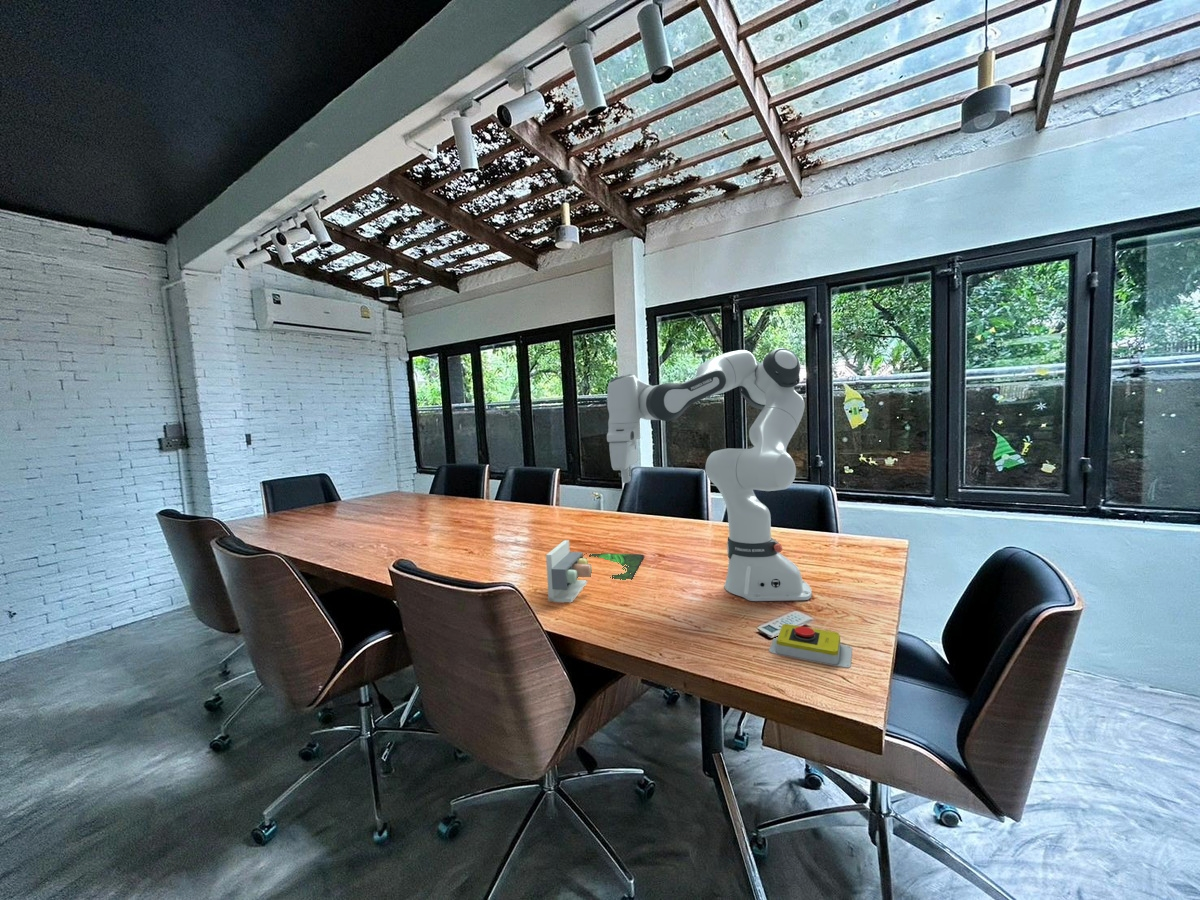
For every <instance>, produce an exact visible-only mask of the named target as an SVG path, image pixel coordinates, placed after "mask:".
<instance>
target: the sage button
mask: <svg viewBox="0 0 1200 900" xmlns="http://www.w3.org/2000/svg"><path fill="white" fill-rule="evenodd" d="M566 575H567V583H576V581H577V570H569V569H568V570H567V571H566Z"/></svg>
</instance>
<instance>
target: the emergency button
mask: <svg viewBox="0 0 1200 900" xmlns="http://www.w3.org/2000/svg"><path fill="white" fill-rule="evenodd" d="M768 652H769V653H771V654H773V655H777V656H778V655H779V656H783V657H790V658H794V659H797V660H798V659H800V660H804V661H808V662H813V663H820V664H824V665H828V666H829V665H831V666H834V667H839V668H845V669H847V668H848V669H849V668H851V666H852V658H853V657H852V655H853V648H852V646H850V645H847V644H842V642H841V634H840V633H839V632H837V631H832V630H825V629H819V628H813V627H808V626H800V625H795V624H789V623H783V624H782V625H781V628H780V629H779V635H778V637H776V638H774V637H773V640H772V641H771V643H770V646H769V649H768Z"/></svg>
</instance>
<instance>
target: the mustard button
mask: <svg viewBox="0 0 1200 900" xmlns="http://www.w3.org/2000/svg"><path fill="white" fill-rule="evenodd" d="M578 564H588V561H587V558H579V559H578Z"/></svg>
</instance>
